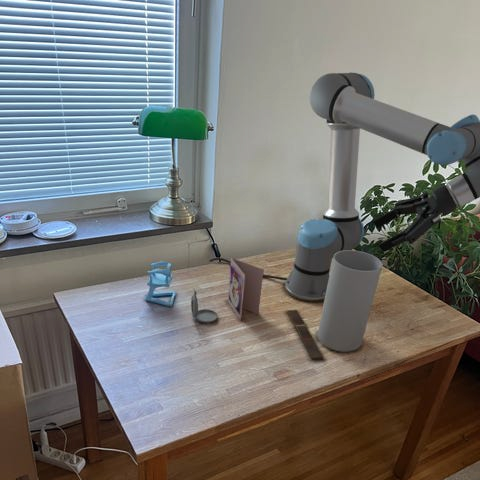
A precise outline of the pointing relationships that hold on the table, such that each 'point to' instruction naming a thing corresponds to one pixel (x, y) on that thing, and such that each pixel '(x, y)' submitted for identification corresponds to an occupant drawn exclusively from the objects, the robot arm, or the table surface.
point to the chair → (160, 283)
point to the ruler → (305, 335)
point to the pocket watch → (201, 311)
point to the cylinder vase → (348, 299)
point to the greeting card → (244, 287)
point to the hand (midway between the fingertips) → (377, 236)
